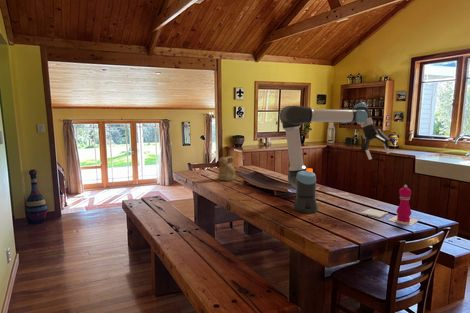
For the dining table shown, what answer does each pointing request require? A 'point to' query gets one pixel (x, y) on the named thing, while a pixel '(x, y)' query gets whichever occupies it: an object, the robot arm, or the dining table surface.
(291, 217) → the dining table surface
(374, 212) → the pad
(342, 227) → the dining table surface
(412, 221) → the tile
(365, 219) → the dining table surface
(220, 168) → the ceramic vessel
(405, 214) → the pepper mill
